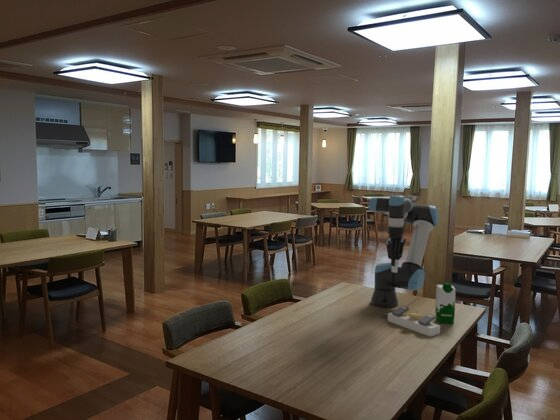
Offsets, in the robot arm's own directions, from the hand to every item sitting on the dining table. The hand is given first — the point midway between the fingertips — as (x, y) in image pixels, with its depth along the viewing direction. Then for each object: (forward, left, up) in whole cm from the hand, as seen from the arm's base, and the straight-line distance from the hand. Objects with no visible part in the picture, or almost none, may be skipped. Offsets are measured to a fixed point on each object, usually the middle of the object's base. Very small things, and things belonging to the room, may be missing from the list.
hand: (394, 272), depth 239 cm
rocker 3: (+2, +23, -18) cm, 29 cm away
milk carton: (-18, +18, -24) cm, 35 cm away
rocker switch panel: (+2, +11, -24) cm, 26 cm away
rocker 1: (+2, +7, -18) cm, 19 cm away
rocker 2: (+2, +15, -18) cm, 23 cm away
